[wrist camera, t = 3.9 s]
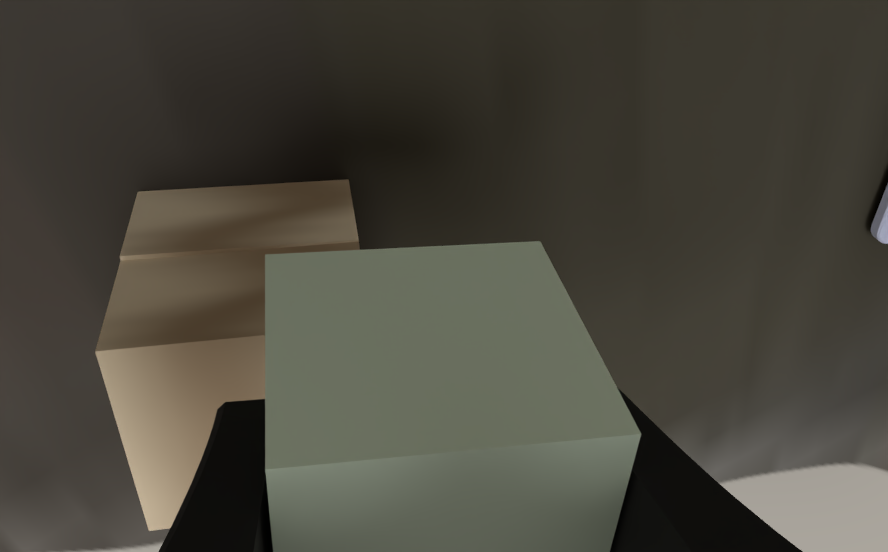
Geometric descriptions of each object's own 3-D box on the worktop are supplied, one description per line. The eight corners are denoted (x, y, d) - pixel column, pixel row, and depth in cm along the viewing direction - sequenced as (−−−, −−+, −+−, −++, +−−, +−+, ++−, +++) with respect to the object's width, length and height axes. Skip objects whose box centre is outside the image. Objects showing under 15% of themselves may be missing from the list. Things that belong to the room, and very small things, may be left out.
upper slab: (358, 241, 18) (372, 324, 15) (368, 408, 21) (380, 501, 18) (120, 260, 17) (95, 351, 15) (164, 431, 20) (149, 530, 17)
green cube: (540, 241, 12) (640, 434, 9) (512, 434, 14) (584, 645, 11) (265, 254, 11) (264, 470, 8) (281, 455, 14) (286, 687, 10)
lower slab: (347, 176, 20) (358, 239, 18) (355, 334, 23) (365, 407, 21) (138, 188, 19) (119, 256, 17) (172, 350, 22) (160, 428, 20)
